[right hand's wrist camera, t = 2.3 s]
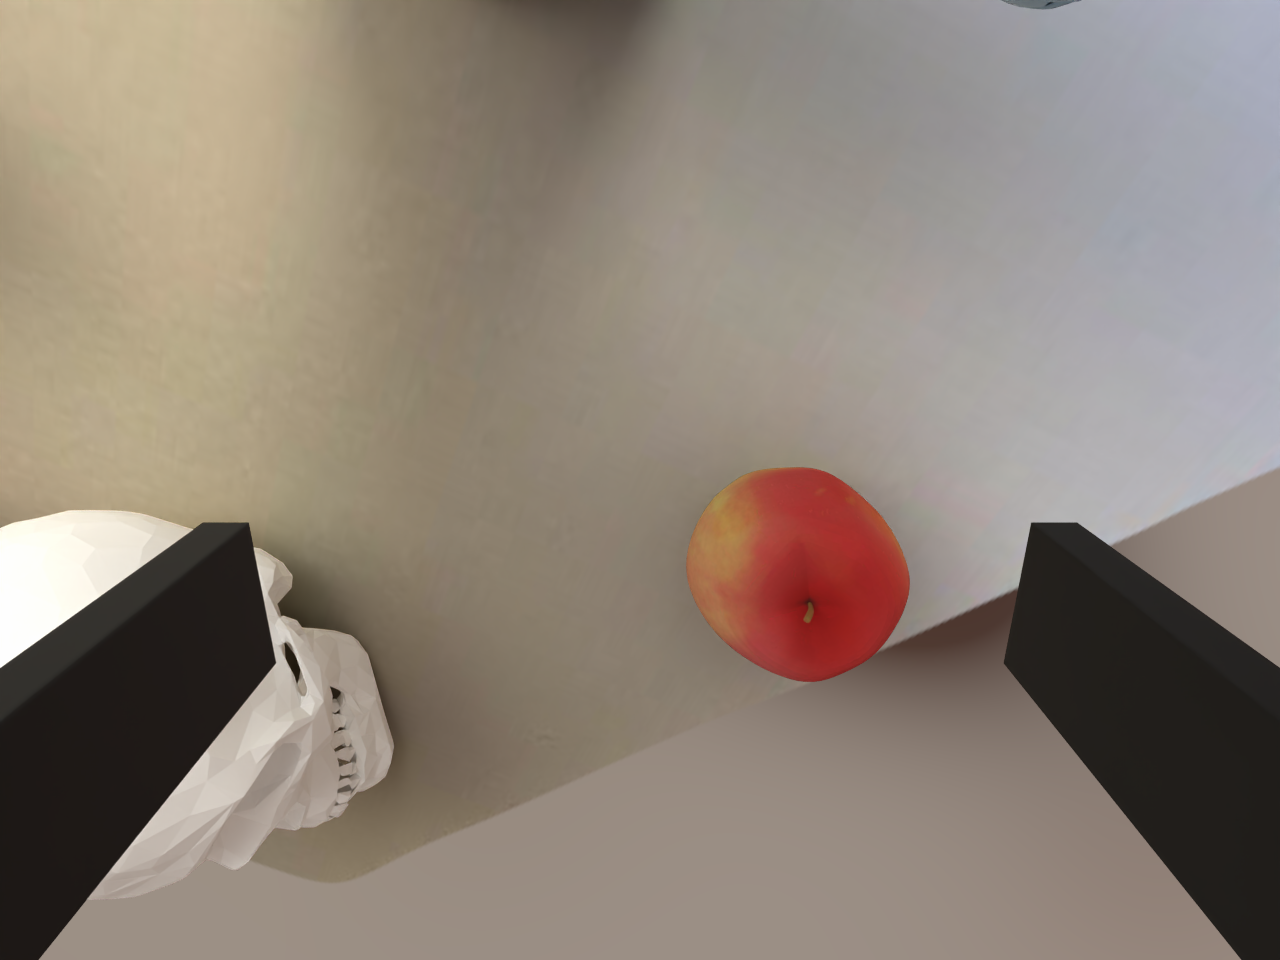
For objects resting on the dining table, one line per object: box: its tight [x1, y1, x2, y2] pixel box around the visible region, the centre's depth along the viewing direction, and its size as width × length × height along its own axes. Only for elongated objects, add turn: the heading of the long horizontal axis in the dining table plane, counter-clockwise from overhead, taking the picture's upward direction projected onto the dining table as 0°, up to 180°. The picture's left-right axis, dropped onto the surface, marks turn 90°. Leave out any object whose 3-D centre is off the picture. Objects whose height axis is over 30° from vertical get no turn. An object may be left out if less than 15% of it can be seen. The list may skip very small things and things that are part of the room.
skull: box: [0, 510, 394, 900], centre depth 34 cm, size 13×22×16 cm, turn 43°
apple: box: [686, 467, 910, 682], centre depth 35 cm, size 10×10×10 cm
